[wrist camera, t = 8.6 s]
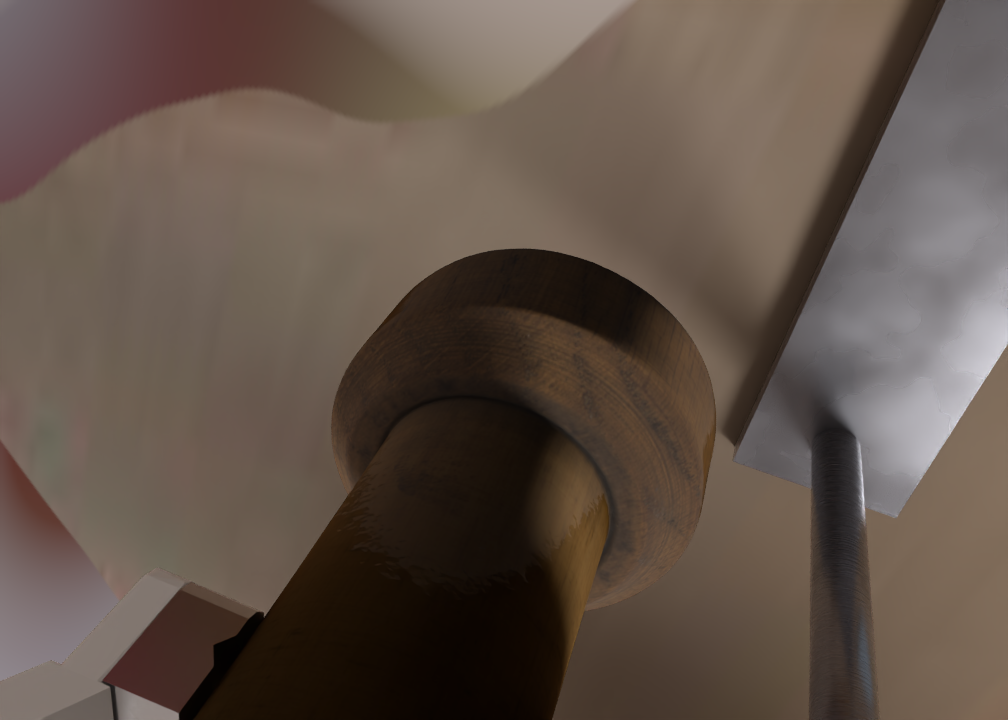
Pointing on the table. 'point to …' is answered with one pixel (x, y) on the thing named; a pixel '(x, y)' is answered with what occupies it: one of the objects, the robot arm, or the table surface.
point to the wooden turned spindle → (486, 497)
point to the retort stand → (893, 330)
